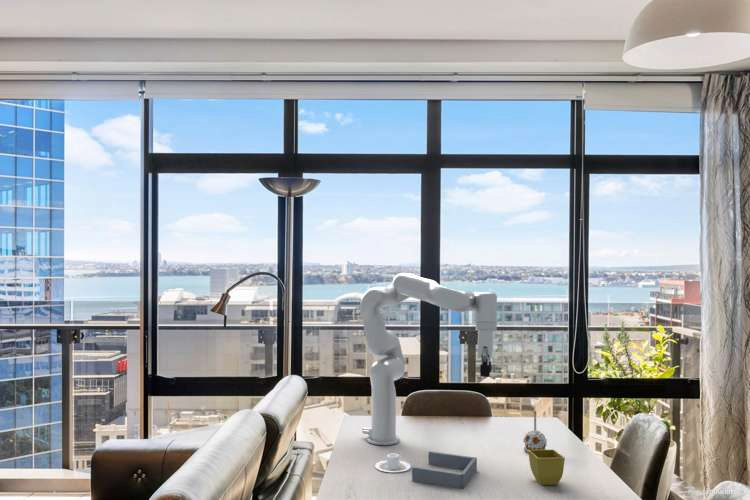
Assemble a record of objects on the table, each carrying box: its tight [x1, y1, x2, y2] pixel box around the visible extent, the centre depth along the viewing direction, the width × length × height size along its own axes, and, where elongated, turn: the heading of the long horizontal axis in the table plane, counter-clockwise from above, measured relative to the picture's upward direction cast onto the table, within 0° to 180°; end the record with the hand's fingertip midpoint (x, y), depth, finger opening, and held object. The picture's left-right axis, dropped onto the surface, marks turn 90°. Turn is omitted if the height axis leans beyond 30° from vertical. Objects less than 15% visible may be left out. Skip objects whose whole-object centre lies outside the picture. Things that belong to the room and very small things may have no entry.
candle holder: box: [374, 452, 412, 473], centre depth 187 cm, size 12×12×4 cm
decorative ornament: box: [523, 410, 547, 453], centre depth 205 cm, size 8×8×15 cm
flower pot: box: [527, 448, 566, 486], centre depth 175 cm, size 9×9×9 cm
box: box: [411, 450, 478, 490], centre depth 180 cm, size 16×18×4 cm
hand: (485, 374), depth 200 cm, fingers open, 9 cm apart
